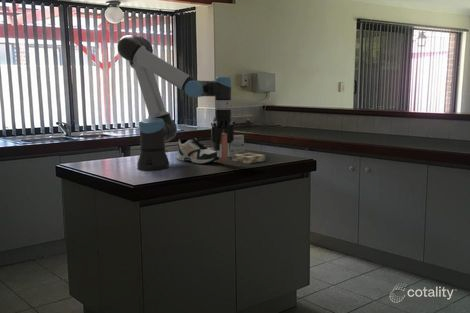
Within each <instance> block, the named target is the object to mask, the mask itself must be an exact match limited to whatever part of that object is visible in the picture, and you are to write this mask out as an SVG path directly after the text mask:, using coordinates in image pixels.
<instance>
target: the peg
mask: <svg viewBox="0 0 470 313" xmlns="http://www.w3.org/2000/svg"><path fill="white" fill-rule="evenodd" d="M220 144H222V157H219V160H218V162H219V163H227V162H228V156H227V133H222V136H221V142H220Z"/></svg>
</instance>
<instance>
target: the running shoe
mask: <svg viewBox="0 0 470 313" xmlns="http://www.w3.org/2000/svg"><path fill="white" fill-rule="evenodd" d="M176 160H178V161H180V162H181V161H182V162H187V161H190V162H191V163H194V164H198V165H199V164H200V165H202V164H209V163H212V162H216V161H219V157H217V151H213V149H211V147H208V146H206V145H205V144H203V143H202V142H201V141H199V140H198V139H197V138H196V137H194V138H191V139H188V138H186V137H184V138H183V139H181V138H179V139H178V146H177V154H176Z"/></svg>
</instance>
